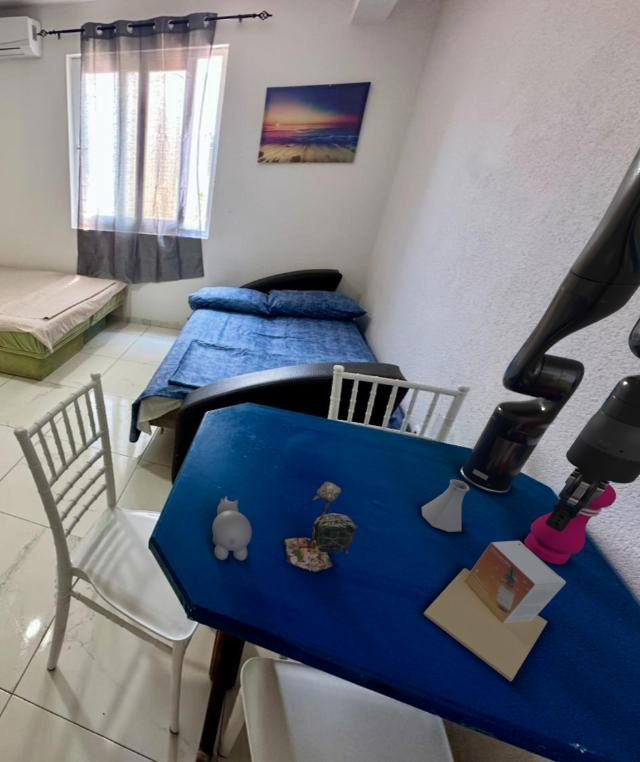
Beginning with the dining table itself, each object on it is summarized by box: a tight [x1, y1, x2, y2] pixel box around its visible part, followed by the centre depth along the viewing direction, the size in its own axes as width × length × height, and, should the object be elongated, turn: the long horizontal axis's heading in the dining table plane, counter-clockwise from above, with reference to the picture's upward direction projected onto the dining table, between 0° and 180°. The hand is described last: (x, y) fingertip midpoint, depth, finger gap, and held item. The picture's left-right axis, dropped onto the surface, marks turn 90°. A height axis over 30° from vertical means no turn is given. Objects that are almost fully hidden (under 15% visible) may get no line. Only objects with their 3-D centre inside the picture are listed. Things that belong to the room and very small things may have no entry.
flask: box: [421, 478, 470, 533], centre depth 85 cm, size 7×7×10 cm
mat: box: [423, 567, 548, 682], centre depth 68 cm, size 16×12×1 cm
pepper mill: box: [523, 483, 617, 565], centre depth 76 cm, size 7×7×20 cm
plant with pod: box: [283, 481, 358, 573], centre depth 73 cm, size 8×11×20 cm
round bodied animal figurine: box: [211, 495, 253, 561], centre depth 79 cm, size 7×12×8 cm, turn 174°
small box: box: [464, 540, 567, 623], centre depth 68 cm, size 8×6×10 cm
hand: (553, 526), depth 68 cm, fingers closed
